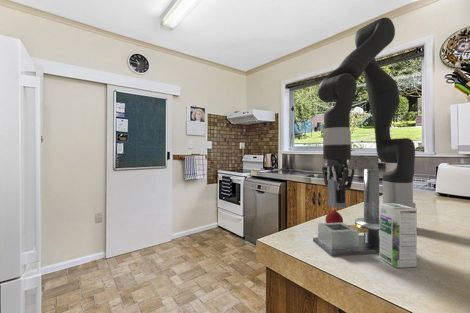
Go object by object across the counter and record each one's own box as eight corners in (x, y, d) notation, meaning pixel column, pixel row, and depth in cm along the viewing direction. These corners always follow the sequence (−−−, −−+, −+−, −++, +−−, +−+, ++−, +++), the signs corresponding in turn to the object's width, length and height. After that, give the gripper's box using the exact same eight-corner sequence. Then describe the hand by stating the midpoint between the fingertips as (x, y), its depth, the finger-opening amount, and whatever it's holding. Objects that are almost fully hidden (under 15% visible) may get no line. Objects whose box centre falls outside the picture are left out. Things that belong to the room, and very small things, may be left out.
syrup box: (378, 257, 60) (378, 203, 60) (399, 256, 61) (398, 202, 61) (395, 268, 54) (395, 208, 54) (418, 267, 55) (417, 207, 55)
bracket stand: (372, 237, 74) (372, 168, 74) (400, 252, 63) (399, 170, 63) (313, 240, 72) (312, 169, 72) (331, 256, 61) (330, 171, 61)
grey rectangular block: (339, 204, 69) (339, 178, 69) (346, 207, 66) (346, 179, 66) (328, 204, 69) (327, 178, 69) (334, 207, 65) (334, 179, 65)
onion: (345, 233, 79) (344, 210, 79) (327, 232, 80) (327, 210, 80) (340, 228, 84) (340, 207, 84) (324, 227, 85) (324, 206, 85)
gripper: (364, 142, 61) (364, 206, 61) (335, 145, 75) (335, 197, 75) (338, 142, 60) (338, 207, 60) (313, 145, 74) (314, 197, 74)
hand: (336, 201), depth 67 cm, fingers closed on grey rectangular block, 3 cm apart
